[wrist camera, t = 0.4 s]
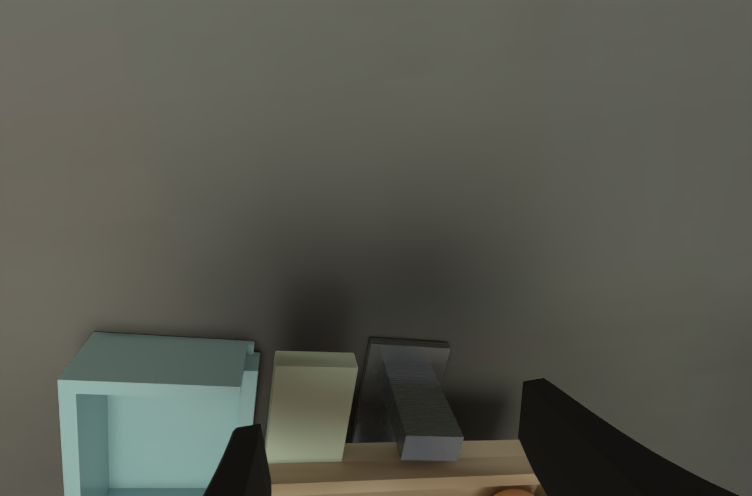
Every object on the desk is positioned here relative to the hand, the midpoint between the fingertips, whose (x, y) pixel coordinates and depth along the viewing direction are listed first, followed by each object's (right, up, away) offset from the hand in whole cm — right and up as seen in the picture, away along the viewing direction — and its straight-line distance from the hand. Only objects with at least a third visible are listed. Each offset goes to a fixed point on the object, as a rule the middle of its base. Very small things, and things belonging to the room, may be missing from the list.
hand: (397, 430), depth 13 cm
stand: (0, -4, +13) cm, 13 cm away
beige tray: (+1, -4, +8) cm, 9 cm away
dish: (-10, -3, +10) cm, 15 cm away
